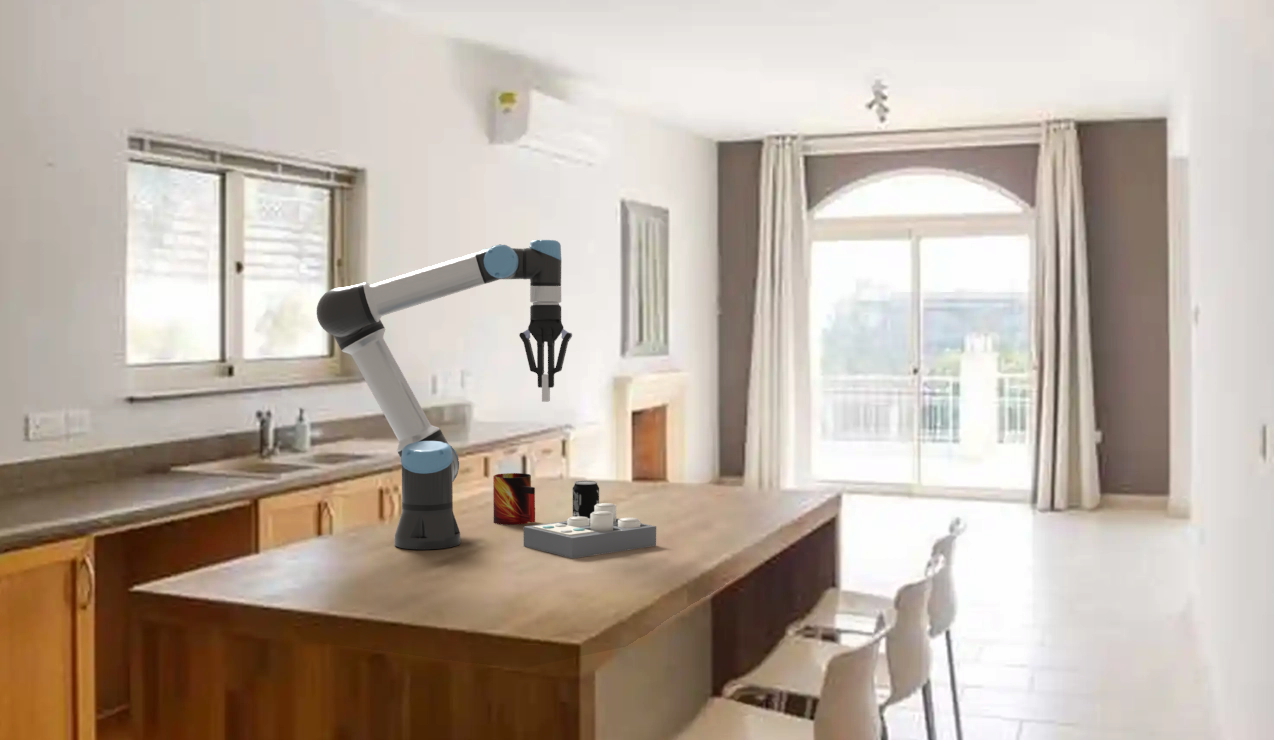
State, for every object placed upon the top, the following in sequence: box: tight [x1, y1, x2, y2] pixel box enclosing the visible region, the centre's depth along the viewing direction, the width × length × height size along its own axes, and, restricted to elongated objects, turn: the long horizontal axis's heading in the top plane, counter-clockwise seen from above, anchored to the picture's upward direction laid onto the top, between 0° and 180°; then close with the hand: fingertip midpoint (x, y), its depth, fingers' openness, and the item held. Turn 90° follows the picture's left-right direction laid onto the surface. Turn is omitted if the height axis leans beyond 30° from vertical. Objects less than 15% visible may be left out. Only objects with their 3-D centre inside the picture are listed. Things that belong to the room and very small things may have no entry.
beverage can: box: [572, 480, 600, 518], centre depth 315 cm, size 7×7×12 cm
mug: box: [492, 472, 536, 526], centre depth 327 cm, size 10×14×12 cm
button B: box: [594, 502, 617, 522], centre depth 302 cm, size 5×5×5 cm
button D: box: [618, 517, 641, 529], centre depth 295 cm, size 5×5×5 cm
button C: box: [590, 511, 613, 532], centre depth 290 cm, size 5×5×5 cm
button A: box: [566, 516, 589, 527], centre depth 297 cm, size 5×5×5 cm
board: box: [523, 517, 657, 559], centre depth 294 cm, size 24×19×5 cm
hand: (545, 401), depth 309 cm, fingers closed
